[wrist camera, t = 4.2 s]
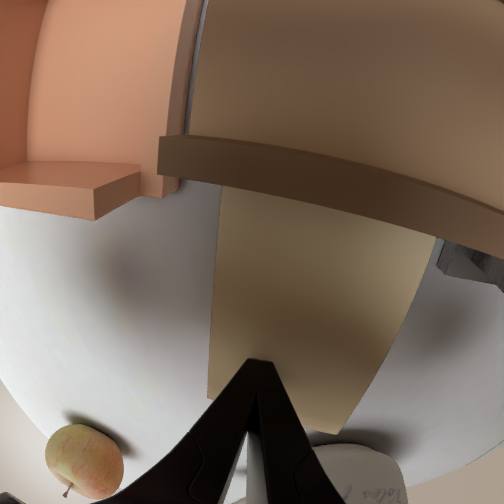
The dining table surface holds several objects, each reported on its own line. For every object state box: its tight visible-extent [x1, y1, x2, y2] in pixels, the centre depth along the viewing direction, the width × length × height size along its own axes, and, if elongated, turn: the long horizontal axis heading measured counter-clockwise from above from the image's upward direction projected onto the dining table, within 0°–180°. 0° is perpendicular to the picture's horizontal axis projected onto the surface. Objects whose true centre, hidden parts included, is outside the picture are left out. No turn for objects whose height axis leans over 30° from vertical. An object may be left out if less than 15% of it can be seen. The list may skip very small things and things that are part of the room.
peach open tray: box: [0, 0, 203, 221], centre depth 6 cm, size 10×9×4 cm
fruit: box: [45, 424, 124, 499], centre depth 17 cm, size 8×7×8 cm
